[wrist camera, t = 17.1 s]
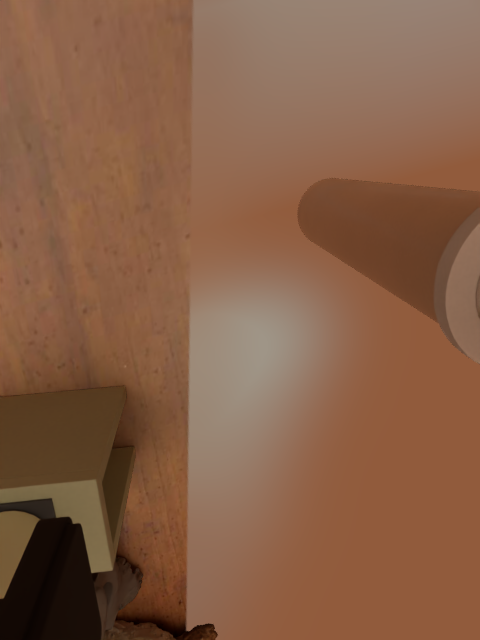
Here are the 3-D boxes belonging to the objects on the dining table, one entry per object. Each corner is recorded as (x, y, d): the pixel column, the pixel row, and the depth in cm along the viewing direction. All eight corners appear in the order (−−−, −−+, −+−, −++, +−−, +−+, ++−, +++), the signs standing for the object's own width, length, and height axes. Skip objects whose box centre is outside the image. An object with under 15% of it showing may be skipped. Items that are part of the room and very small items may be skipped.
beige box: (125, 385, 44) (86, 511, 28) (135, 456, 47) (105, 608, 31) (-4, 396, 43) (-121, 533, 27) (14, 468, 46) (-83, 631, 30)
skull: (116, 614, 54) (101, 728, 43) (-41, 566, 49) (-102, 682, 38) (164, 542, 51) (162, 643, 41) (5, 484, 46) (-46, 581, 35)
